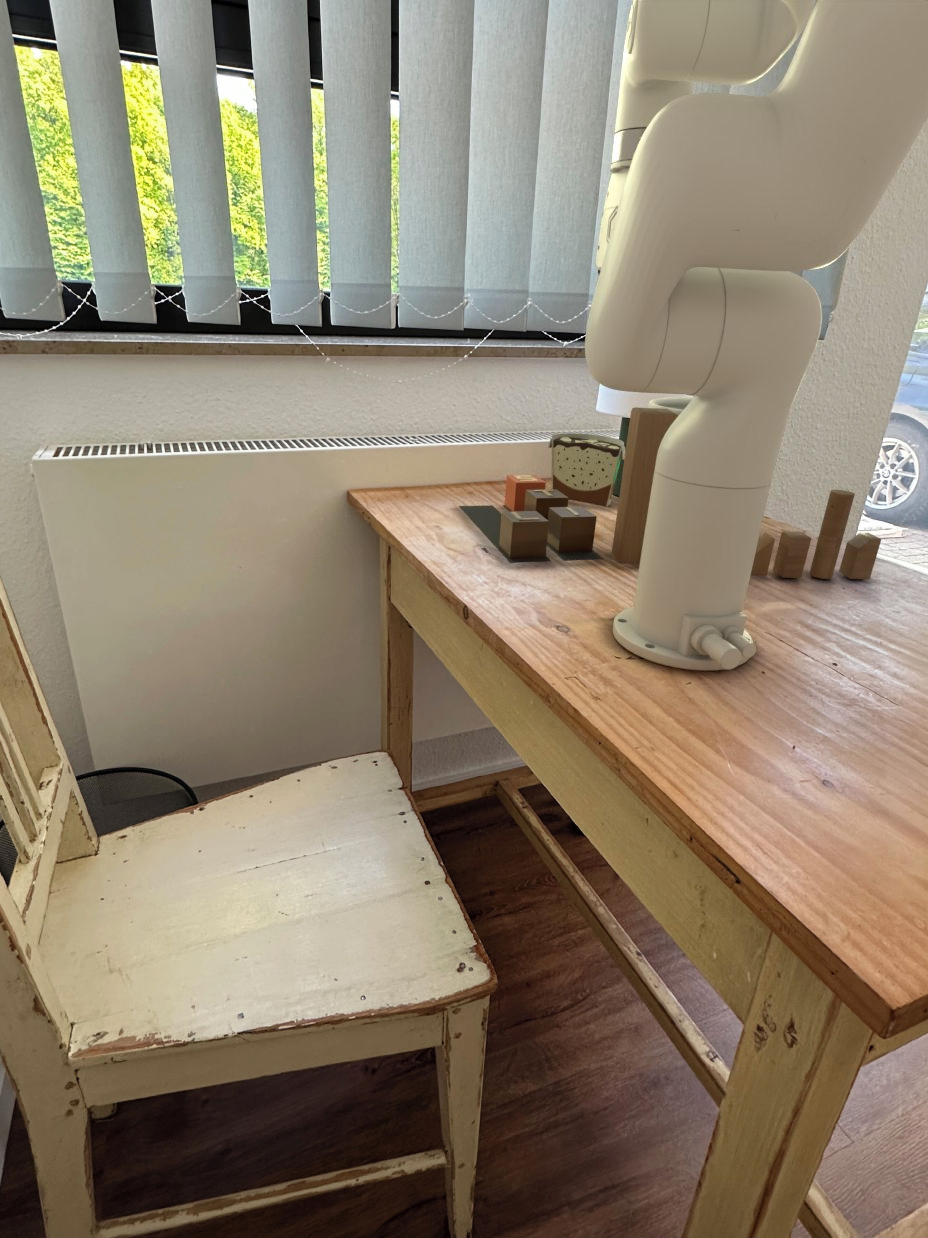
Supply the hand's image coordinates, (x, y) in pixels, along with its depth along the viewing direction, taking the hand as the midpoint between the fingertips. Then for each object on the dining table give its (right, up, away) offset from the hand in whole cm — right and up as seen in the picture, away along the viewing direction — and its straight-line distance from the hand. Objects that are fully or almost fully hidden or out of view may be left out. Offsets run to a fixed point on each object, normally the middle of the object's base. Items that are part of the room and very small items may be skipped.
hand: (625, 327), depth 84 cm
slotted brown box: (-6, -25, +6) cm, 27 cm away
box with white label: (-12, -26, +3) cm, 29 cm away
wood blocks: (+17, -29, +1) cm, 34 cm away
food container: (+1, -16, +30) cm, 34 cm away
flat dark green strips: (-11, -23, +12) cm, 28 cm away
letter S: (-10, -18, +21) cm, 30 cm away
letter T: (-8, -22, +14) cm, 27 cm away
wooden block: (+4, -28, +4) cm, 28 cm away
